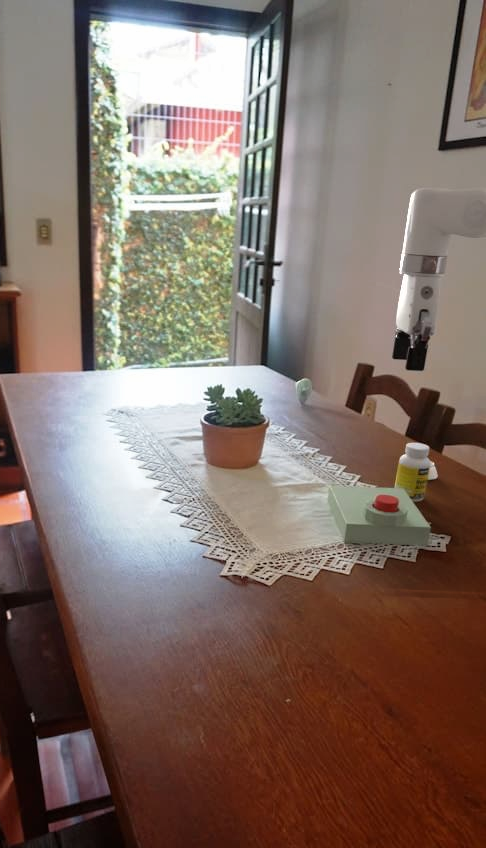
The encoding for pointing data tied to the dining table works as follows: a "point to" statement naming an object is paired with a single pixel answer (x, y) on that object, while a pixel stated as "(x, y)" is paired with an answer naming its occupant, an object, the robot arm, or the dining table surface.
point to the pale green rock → (303, 390)
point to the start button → (386, 503)
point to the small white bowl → (432, 472)
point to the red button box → (376, 517)
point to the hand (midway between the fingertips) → (407, 364)
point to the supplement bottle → (414, 471)
